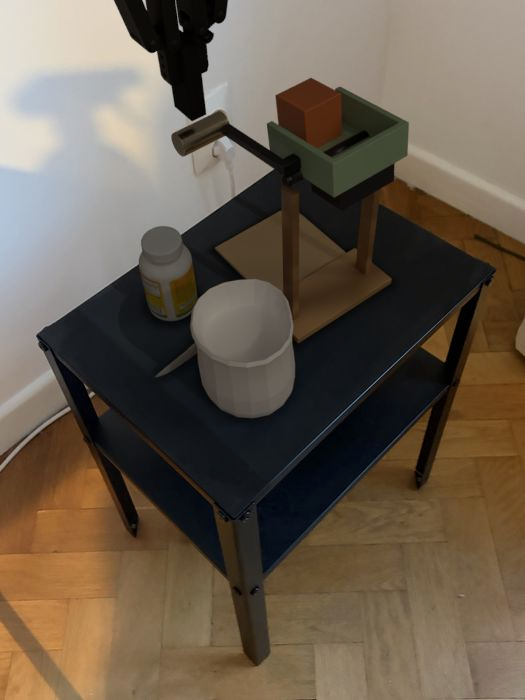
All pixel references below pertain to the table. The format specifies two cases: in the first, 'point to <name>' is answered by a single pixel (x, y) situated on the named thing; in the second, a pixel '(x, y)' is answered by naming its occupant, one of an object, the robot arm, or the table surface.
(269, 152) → the tilting tray
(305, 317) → the scoop stand
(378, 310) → the table surface
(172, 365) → the pocket knife
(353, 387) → the table surface
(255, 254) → the mat
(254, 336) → the cup
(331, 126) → the block
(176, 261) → the supplement bottle
